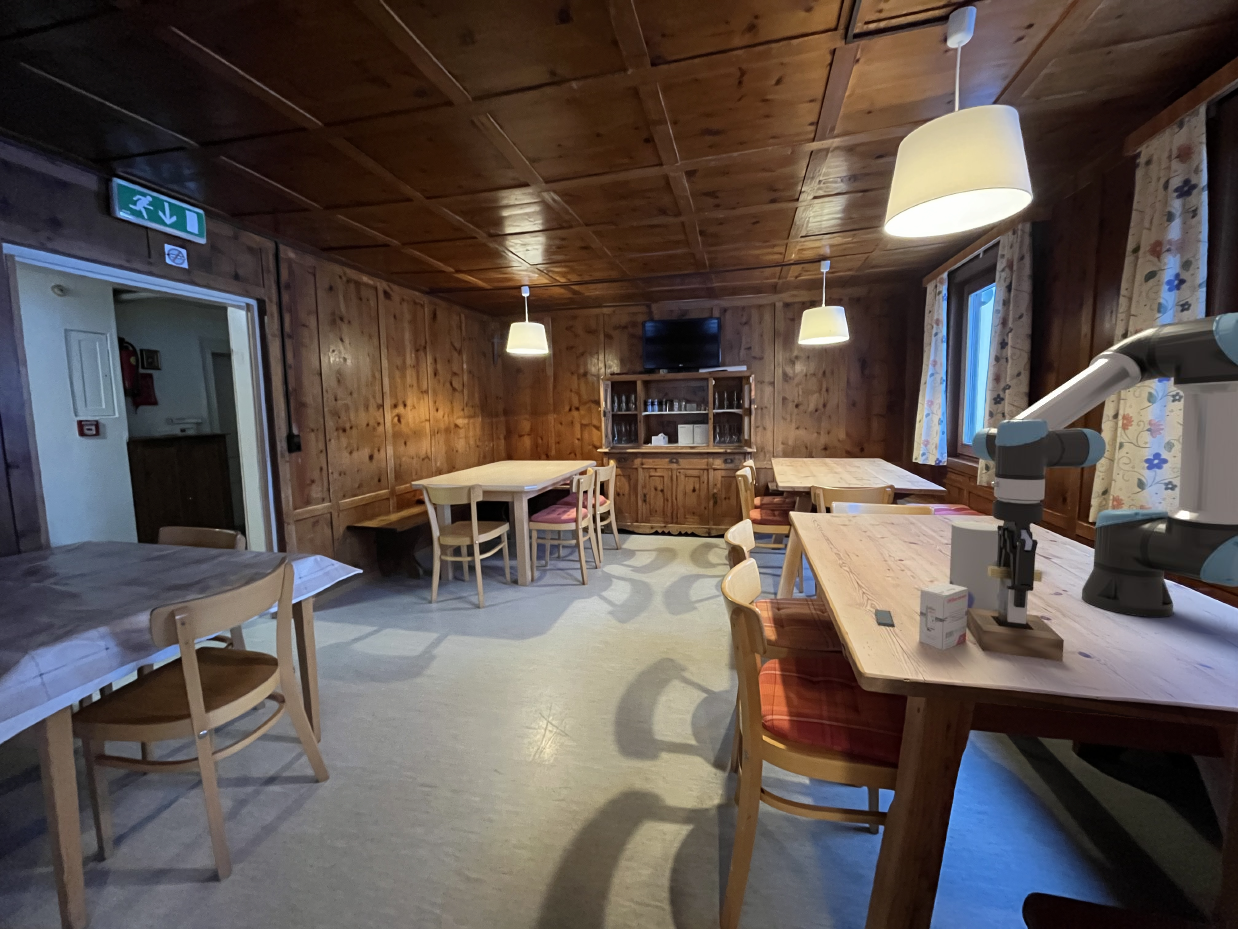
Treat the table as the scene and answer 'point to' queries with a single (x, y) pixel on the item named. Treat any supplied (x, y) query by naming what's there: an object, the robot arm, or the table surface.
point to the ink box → (943, 615)
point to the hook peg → (1005, 581)
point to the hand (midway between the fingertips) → (1011, 616)
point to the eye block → (1015, 636)
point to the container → (975, 562)
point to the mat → (884, 618)
